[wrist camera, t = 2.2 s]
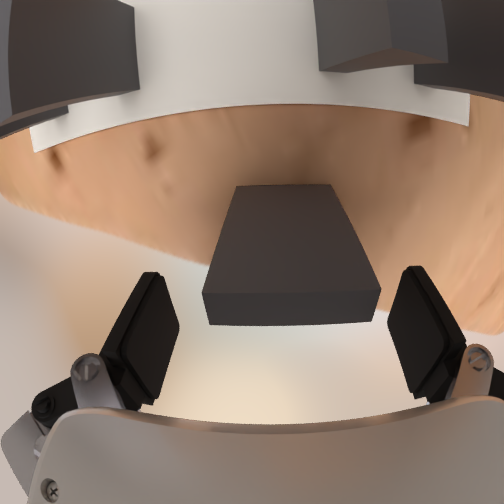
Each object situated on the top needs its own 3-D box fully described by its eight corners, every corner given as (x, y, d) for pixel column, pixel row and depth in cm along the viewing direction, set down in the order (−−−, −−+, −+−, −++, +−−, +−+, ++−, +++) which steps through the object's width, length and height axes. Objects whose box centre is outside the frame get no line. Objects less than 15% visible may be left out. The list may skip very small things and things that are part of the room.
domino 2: (134, 7, 10) (17, -27, 2) (140, 89, 13) (12, 115, 5) (112, 15, 10) (-9, -4, 2) (118, 95, 13) (-10, 130, 5)
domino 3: (236, 186, 17) (201, 292, 9) (330, 184, 17) (381, 288, 8) (238, 208, 18) (209, 325, 10) (329, 207, 18) (371, 321, 9)
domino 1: (62, 39, 11) (-53, 50, 2) (68, 112, 14) (-47, 160, 6) (47, 48, 11) (-63, 65, 2) (54, 118, 14) (-55, 168, 6)
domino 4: (338, -15, 9) (407, -97, 1) (346, 73, 12) (448, 63, 4) (310, -17, 9) (352, -113, 1) (318, 71, 12) (391, 47, 4)
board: (456, 0, 7) (460, -1, 7) (463, 124, 13) (468, 126, 12) (27, 44, 10) (22, 44, 10) (39, 150, 16) (34, 153, 15)
